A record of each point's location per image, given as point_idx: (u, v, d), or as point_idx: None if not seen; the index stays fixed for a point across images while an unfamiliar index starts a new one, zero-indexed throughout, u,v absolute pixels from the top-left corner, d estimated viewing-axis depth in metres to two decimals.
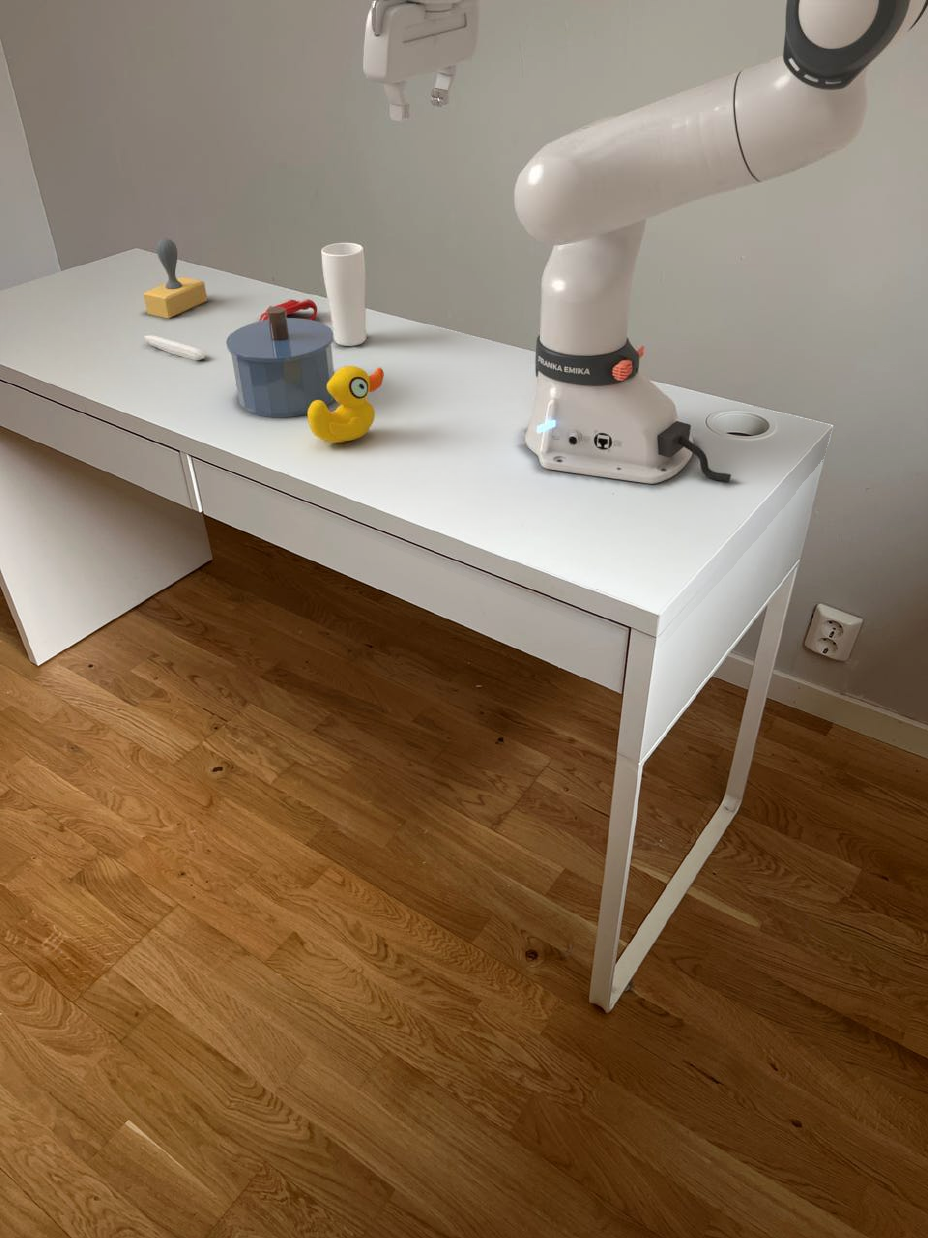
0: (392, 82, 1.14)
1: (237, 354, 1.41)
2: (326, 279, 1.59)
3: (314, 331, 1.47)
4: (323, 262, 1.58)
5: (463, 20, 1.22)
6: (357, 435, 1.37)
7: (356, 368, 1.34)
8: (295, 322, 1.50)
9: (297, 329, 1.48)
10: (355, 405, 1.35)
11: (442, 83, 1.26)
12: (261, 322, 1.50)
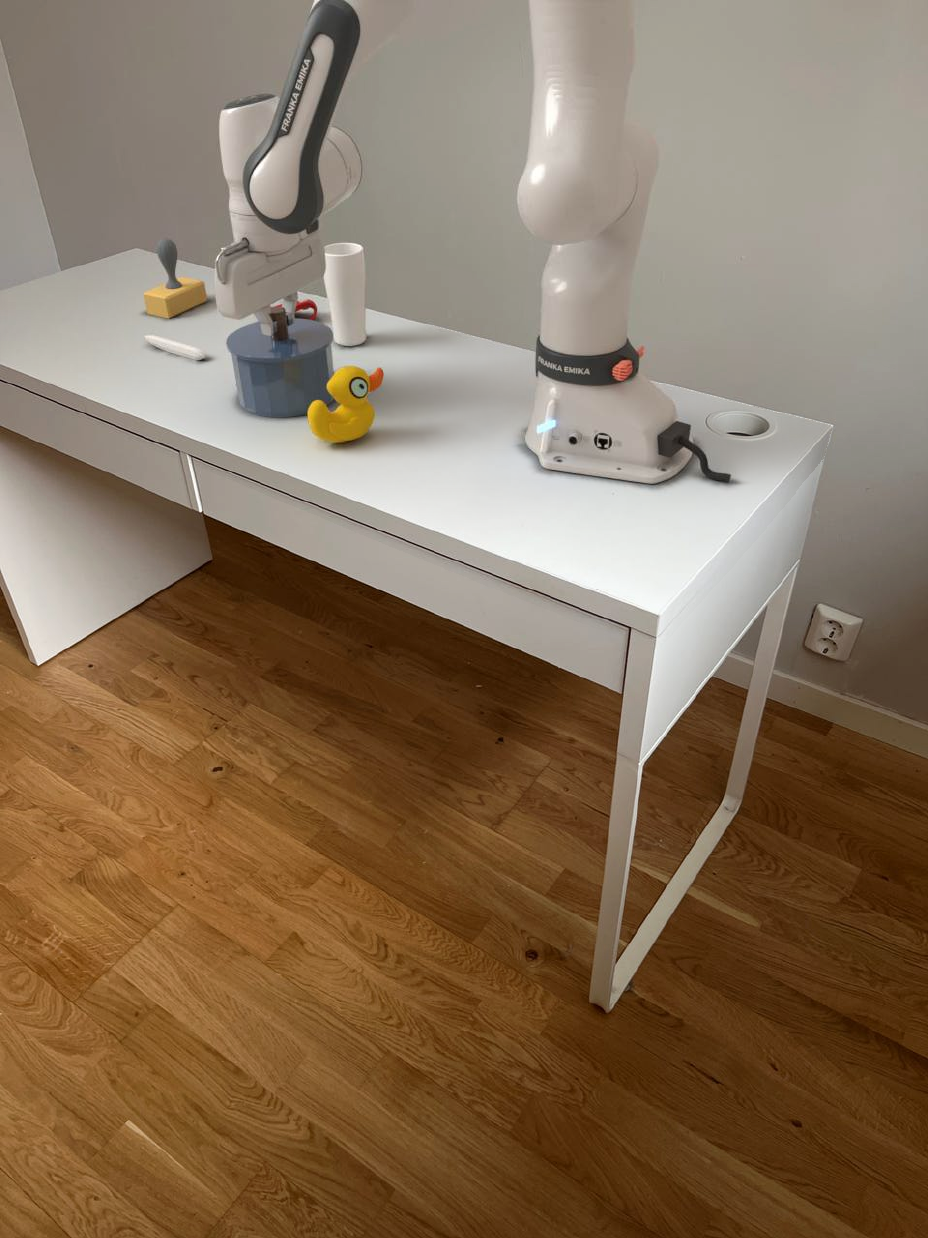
0: (242, 317, 1.35)
1: (237, 354, 1.41)
2: (326, 279, 1.59)
3: (314, 331, 1.47)
4: None
5: (308, 251, 1.43)
6: (357, 435, 1.37)
7: (356, 368, 1.34)
8: (295, 322, 1.50)
9: (297, 329, 1.48)
10: (355, 405, 1.35)
11: (287, 307, 1.45)
12: None
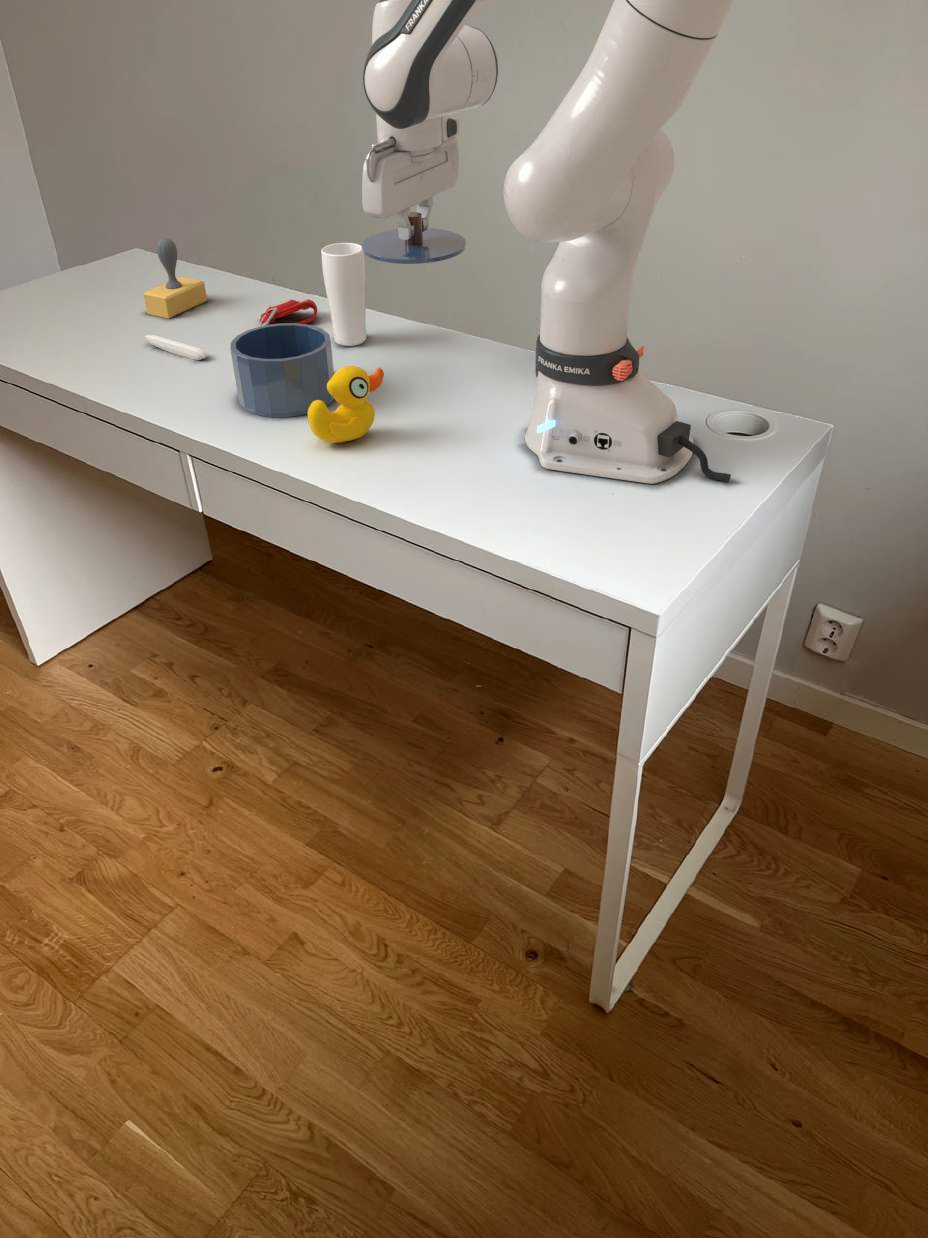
0: (387, 216, 1.37)
1: (376, 256, 1.43)
2: (326, 279, 1.59)
3: (446, 238, 1.49)
4: (323, 262, 1.58)
5: (445, 156, 1.45)
6: (357, 435, 1.37)
7: (356, 368, 1.34)
8: None
9: (429, 236, 1.50)
10: (355, 405, 1.35)
11: (421, 213, 1.47)
12: (391, 231, 1.52)
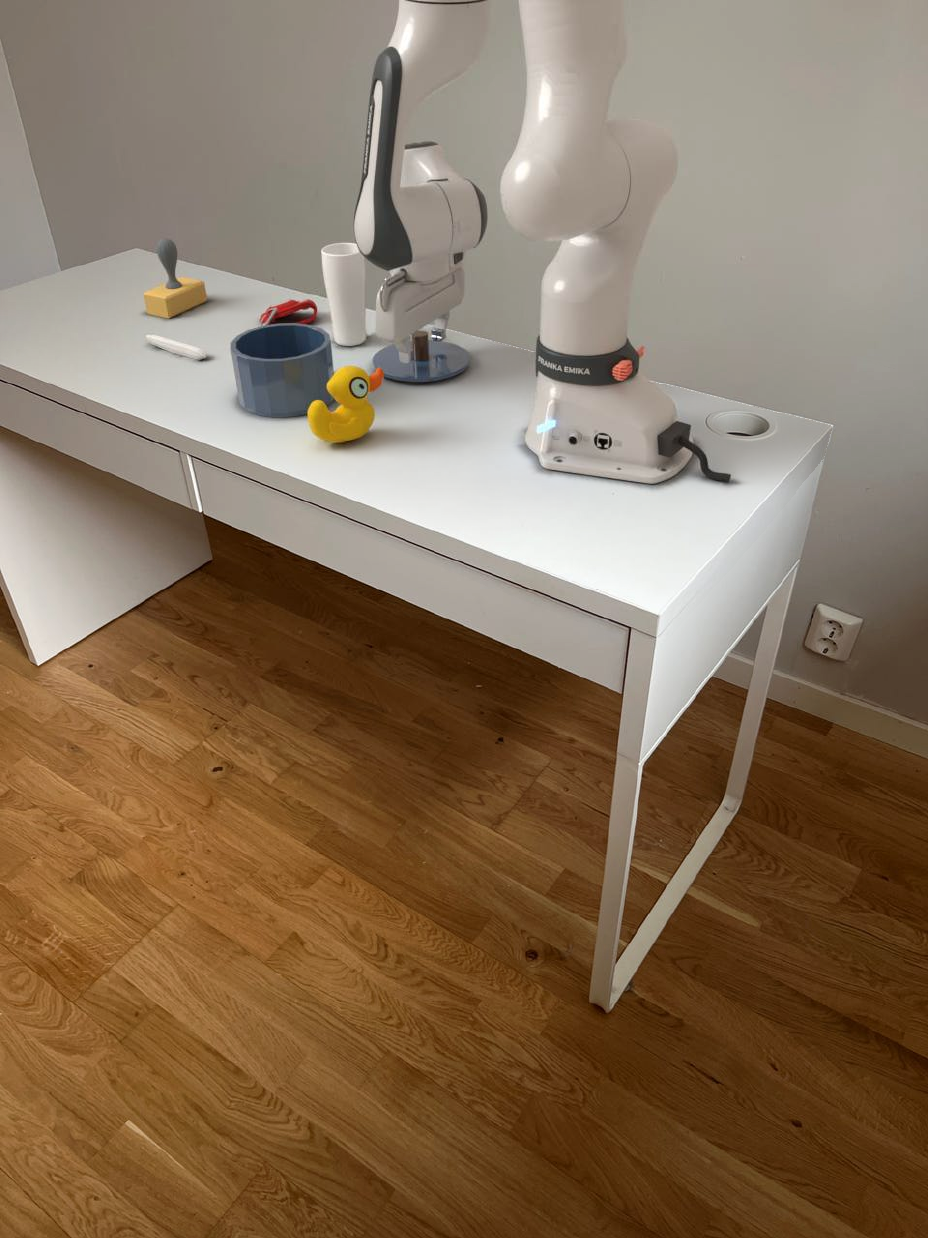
0: (399, 341, 1.48)
1: (386, 374, 1.54)
2: (326, 279, 1.59)
3: (451, 352, 1.60)
4: (323, 262, 1.58)
5: (452, 279, 1.56)
6: (357, 435, 1.37)
7: (356, 368, 1.34)
8: (431, 343, 1.63)
9: (435, 350, 1.60)
10: (355, 405, 1.35)
11: (439, 324, 1.59)
12: None
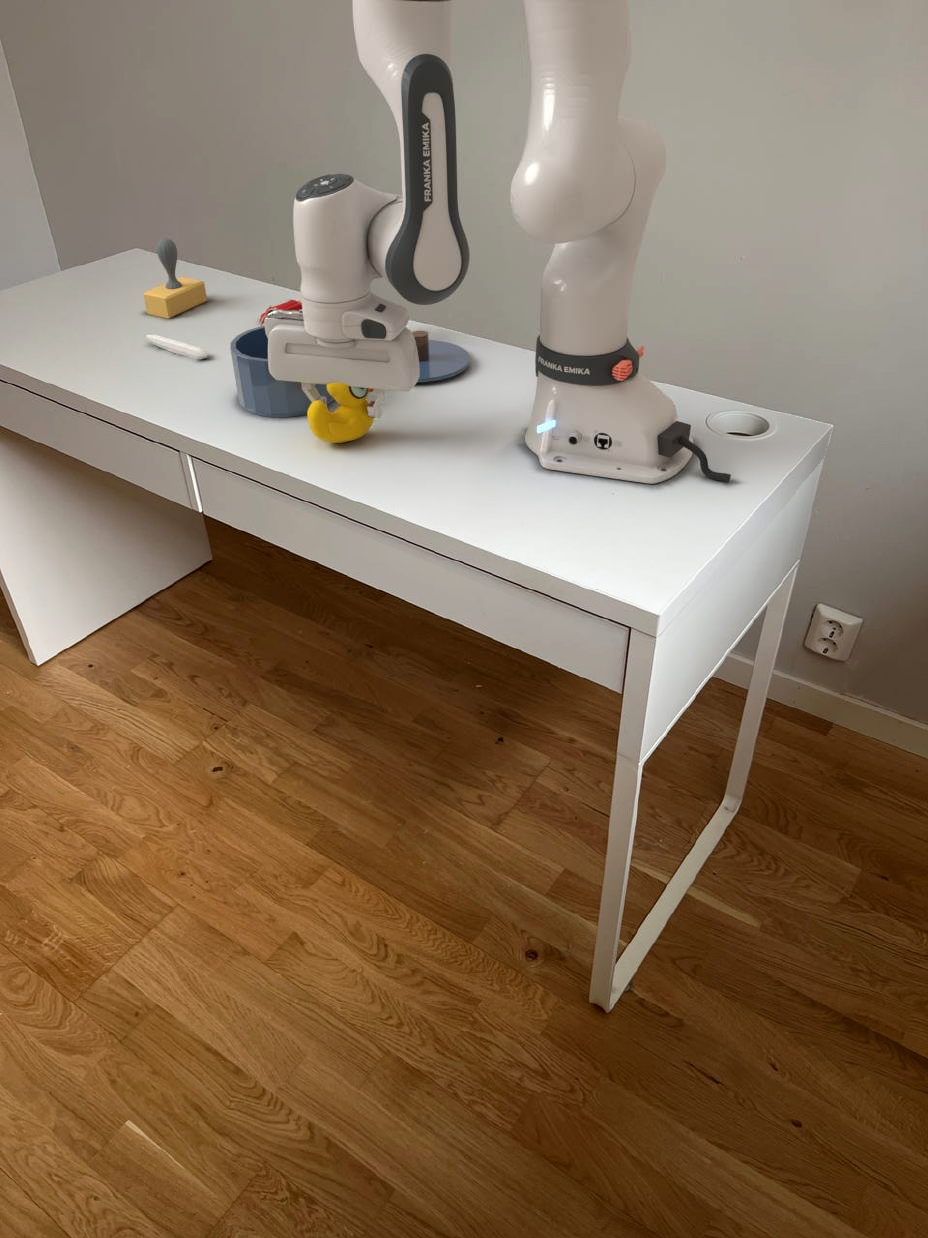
0: (276, 379, 1.35)
1: None
2: None
3: (451, 352, 1.60)
4: None
5: (386, 356, 1.29)
6: (357, 435, 1.37)
7: None
8: (431, 343, 1.63)
9: (435, 350, 1.60)
10: (355, 406, 1.35)
11: None
12: None
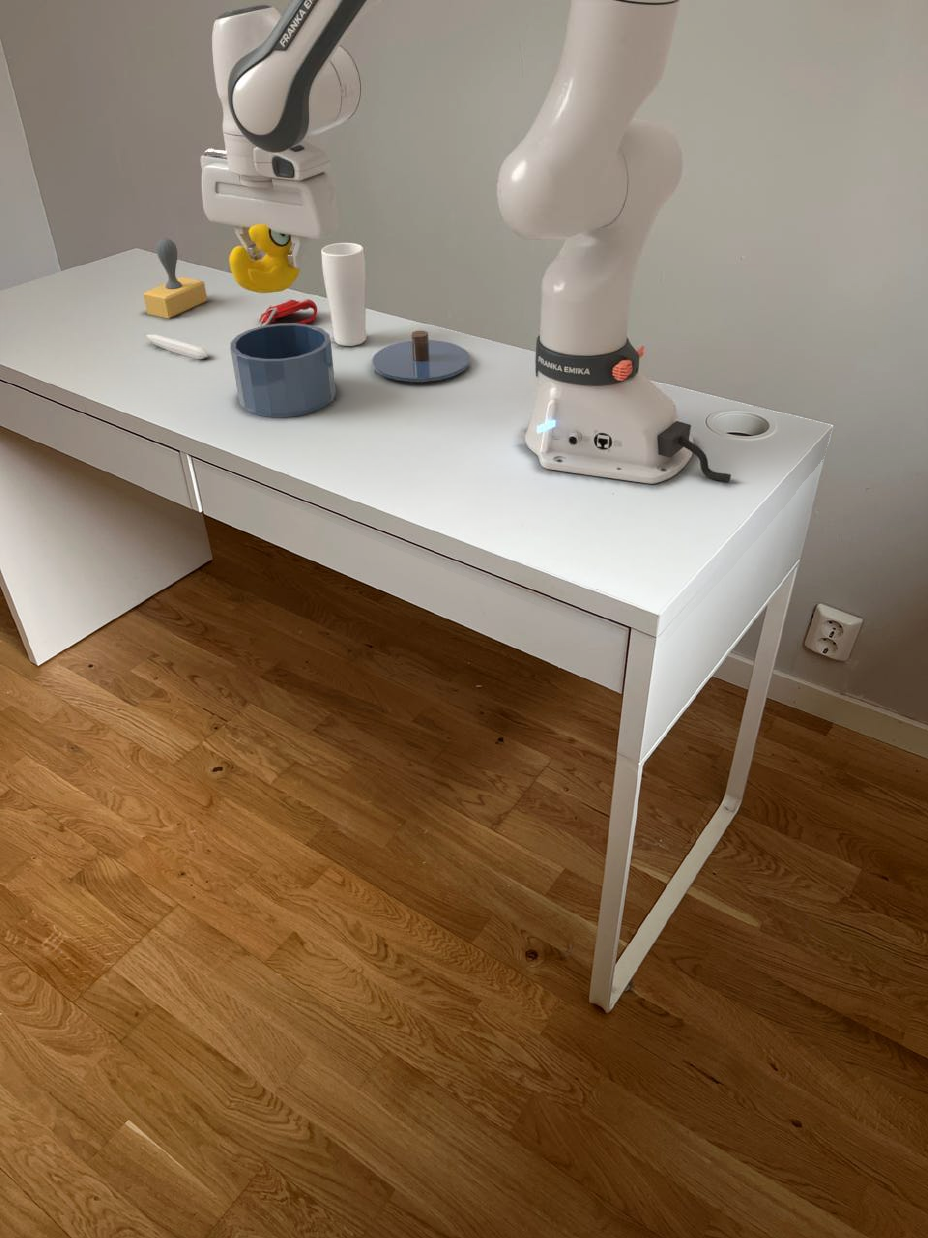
0: (210, 220, 1.37)
1: (386, 374, 1.54)
2: (326, 279, 1.59)
3: (451, 352, 1.60)
4: (323, 262, 1.58)
5: (300, 200, 1.28)
6: (279, 285, 1.37)
7: None
8: (431, 343, 1.63)
9: (435, 350, 1.60)
10: (277, 254, 1.35)
11: None
12: (399, 344, 1.63)
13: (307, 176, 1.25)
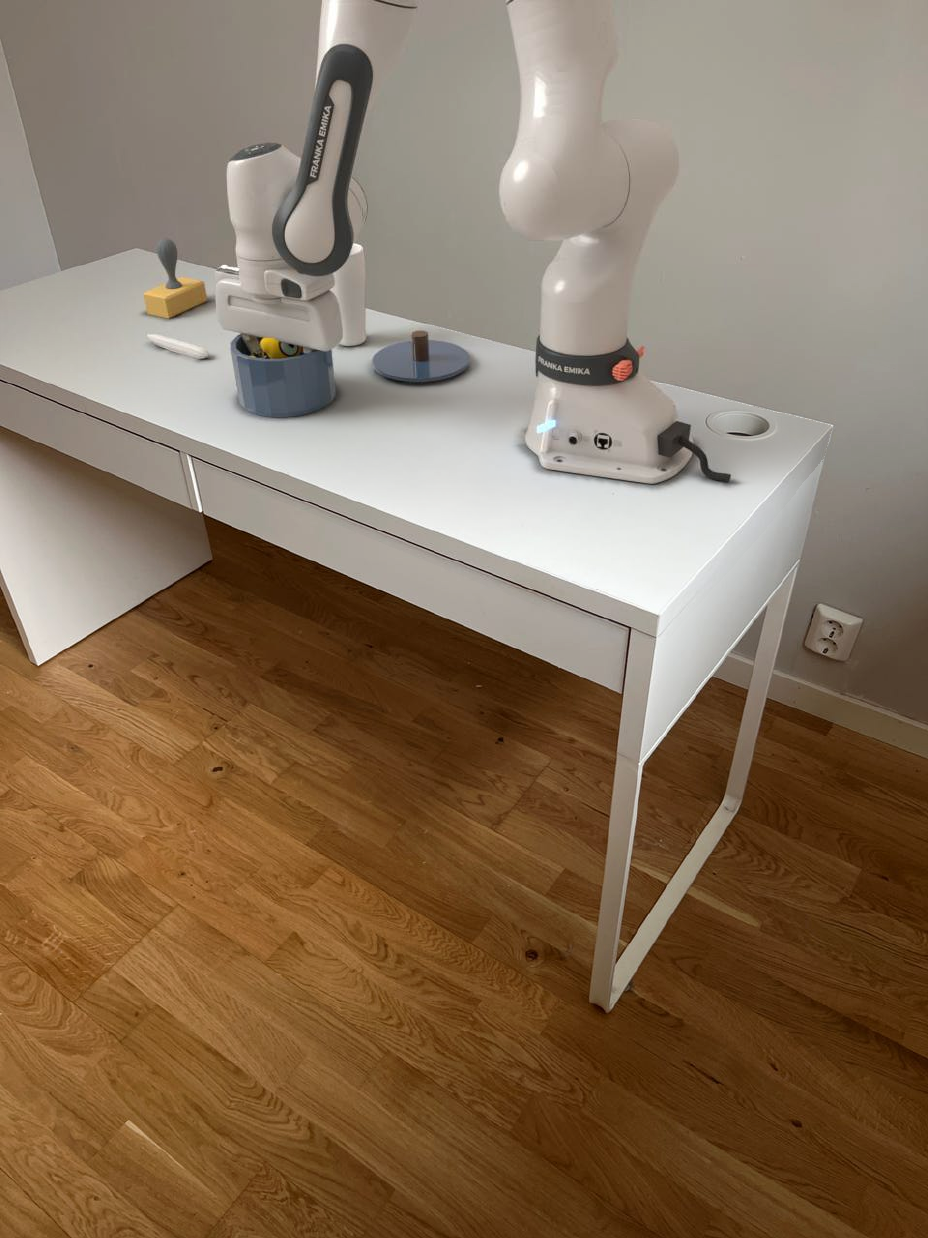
0: (223, 328, 1.48)
1: (386, 374, 1.54)
2: None
3: (451, 352, 1.60)
4: None
5: (307, 316, 1.39)
6: None
7: None
8: (431, 343, 1.63)
9: (435, 350, 1.60)
10: None
11: None
12: (399, 344, 1.63)
13: (313, 296, 1.36)
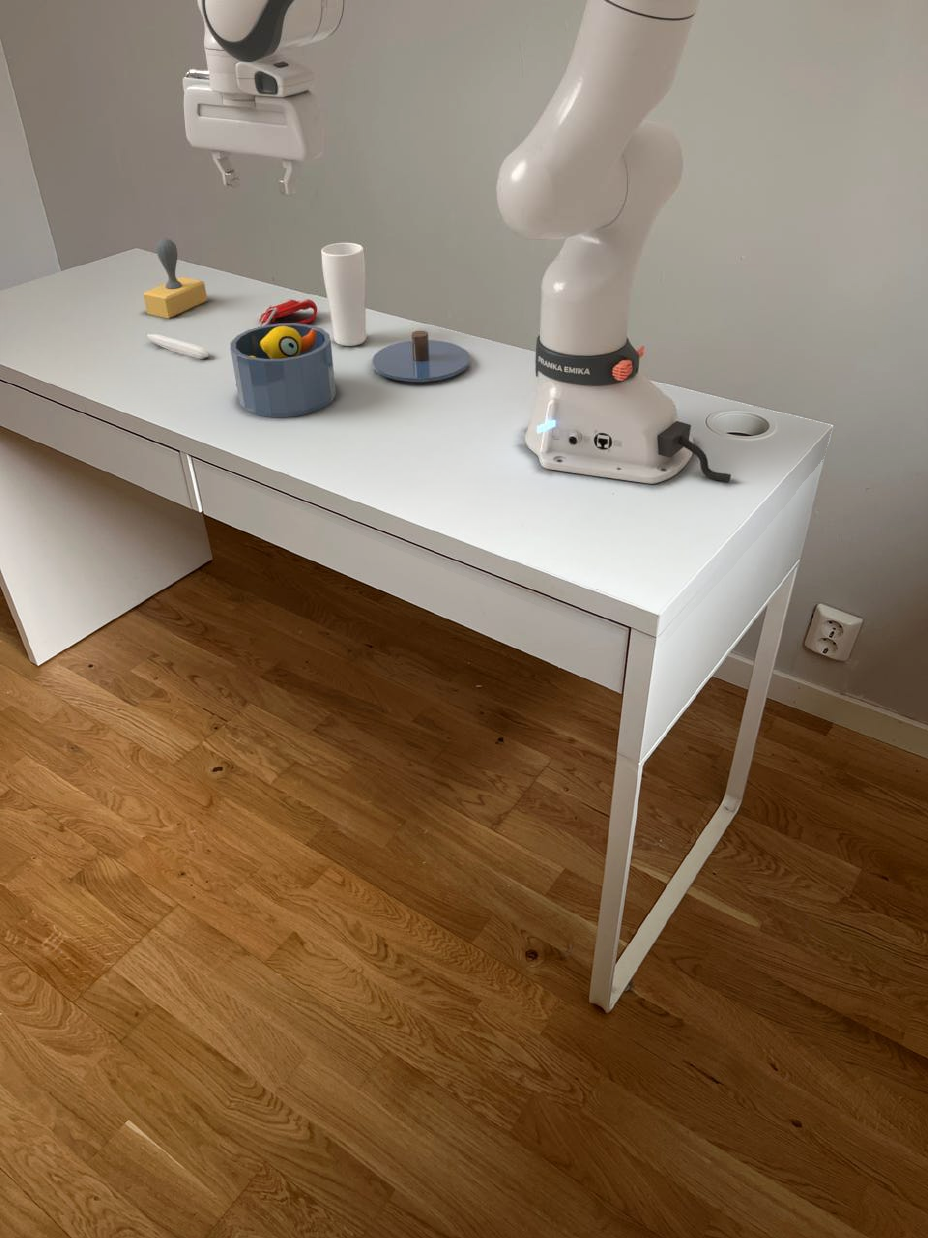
0: (193, 146, 1.33)
1: (386, 374, 1.54)
2: (326, 279, 1.59)
3: (451, 352, 1.60)
4: (323, 262, 1.58)
5: (284, 119, 1.24)
6: None
7: (288, 328, 1.45)
8: (431, 343, 1.63)
9: (435, 350, 1.60)
10: None
11: None
12: (399, 344, 1.63)
13: (291, 92, 1.21)
